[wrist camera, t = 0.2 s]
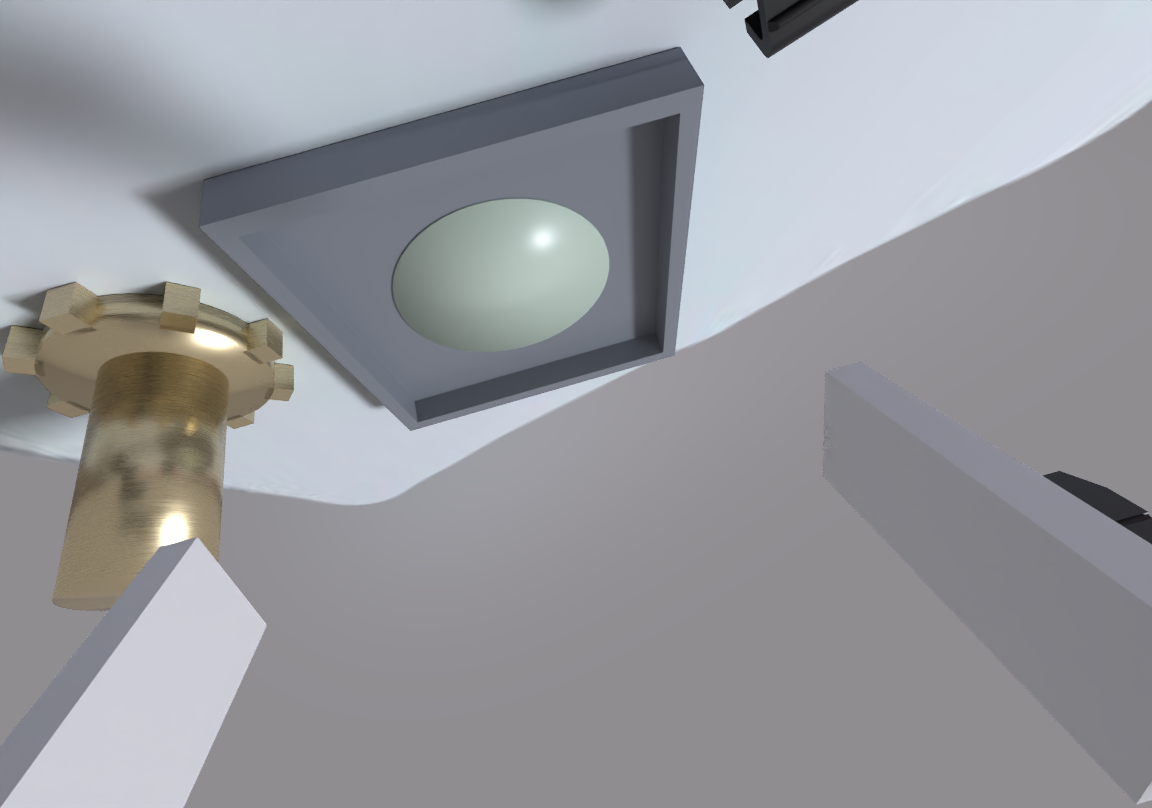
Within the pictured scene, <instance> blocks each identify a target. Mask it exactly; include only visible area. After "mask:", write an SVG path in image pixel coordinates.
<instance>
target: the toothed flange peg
mask: <svg viewBox="0 0 1152 808" xmlns="http://www.w3.org/2000/svg"><path fill="white" fill-rule="evenodd" d="M200 292H201V289H198V288H193V287H188V286H183V285H178V284H173V283H169V282H166V287H165V293H164V296H160V295H149V294H117V295H107V296H99V297H98V296H96V295H95V294H93V293H92V292H90V291H88V290H87V289H85V288H84V287H82V286H81V285H79V284H78V283H76V282H75V283H72V284H68V285H65V286H61V287H58V288H54V289H50V290H47V293H46V297H45V300H44V304H43V308H42V311H41V315H40V318H39V322H41V323H43V324H44V325H45V326H44V329H43V330H39V329H32V328H25V327H19V326H11V329H10V333H9V336H8V339H7V343H6V346H5V349H4V352H3V356H2V357H3V363H4V369H5V372H10V373H20V374H29V375H37V377H38V379H39V380H40V382H41V383H42V384H43V385H44V386H45V387H46V388H47V390H49V391H50V395H49V399H48V403H47V407H46V408H49V409H51V410H54V411H56V412H58V413H61V414H63V415H66V416H68V417H71V418H73V417H76V416H80V415H83V414H87V413H90V414H89V419H88V424H87V429H86V434H85V439H84V444H83V449H82V454H81V459H80V464H79V469H78V474H77V480H76V485H75V490H74V495H73V500H72V505H71V509H70V515H69V519H68V525H67V529H66V534H65V539H64V544H63V549H62V555H61V559H60V565H59V569H58V575H57V579H56V585H55V589H54V594H53V599H52V602H53V603H54V604H55V605H57V606H59V607H63V608H67V609H73V610H87V611H109V610H110V608H111V607H112V606H113V605H114V603H115V602H116V601H117V600H118V598H119V597H120V596H121V595H122V593H123V592H124V591H125V590H126V588H127V587H128V586H129V585H130V583H131V582H132V581H133V580H134V578H135V577H136V576H137V575H138V573H139V572H140V571H141V570H142V568H143V567H144V566H145V565H146V563H147V562H148V561H149V560H150V558H151V557H152V556H153V555H154V553H155V552H156V551H157V550H158V548H159V547H161V546H165V545H168V544H172V543H176V542H180V541H184V540H187V539H191V538H195V537H198V538H199V539H200V541H201V542H202V543H203V544H204V546H205V547H206V548H207V550H208V551H209V552H210V553H211V555H212V556H213V557H214V558H215V560H216V561H217V562H218V561H219V544H220V527H221V512H222V494H223V479H224V463H225V446H226V430H227V425H228V426H230V427H231V428H233V429H236V428H239V427H243V426H246V425H250V424H253V423H254V411H255V410H257V409H259V408H260V407H262V406H263V405H264V404H265V403H266V402H267V401H268V400H269V399H272V400H282V401H289V399H290V397H291V395H292V393H293V391H294V366H291V365H284V364H277V363H275V360H277V359H281V358H282V350H283V332H282V331H281V330H279V329H278V328H277V327H276V326H275V325H274V324H273V323H272V322H270V321H269V320H268V319H265V320H261V321H258V322H254V323H250V324H248V323H246V322H245V321H243V320H241V319H239V318H238V317H236V316H233V315H231V314H229V313H227V312H225V311H222V310H220V309H217V308H214V307H211V306H208V305H205V304H201V303H199V302H200Z"/></svg>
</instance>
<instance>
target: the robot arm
mask: <svg viewBox="0 0 1152 808" xmlns="http://www.w3.org/2000/svg"><path fill="white" fill-rule="evenodd" d="M823 477H824V478H825V479H826V480H827V481H828V482H829V483H830V484H831V485H832V486H833V487H834V488H835V490H837V492H839V494H840V495H841V496H842V497H843V498H844V499H845V500H846V501H847V502H848V503H849V504H850V505H851V506H852V507H853V508H854V509H855V510H856V511H857V512H858V514H859V515H860V516H861V517H862V518H863V519H864V520H865V521H866V522H867V523H868V524H869V525H870V526H871V527H872V528H873V529H874V530H875V531H876V532H877V533H878V535H879V536H880V537H881V538H882V539H883V540H884V541H885V542H886V543H887V544H888V545H889V546H890V547H891V548H892V549H893V550H894V551H895V552H896V553H897V554H898V555H899V557H900V558H901V559H902V560H904V562H905V563H906V564H907V565H908V566H909V567H910V568H911V569H912V570H913V571H914V572H915V573H916V574H917V575H918V576H919V577H920V578H921V580H922V581H923V582H924V583H925V584H926V585H927V586H928V587H929V588H930V589H931V590H932V591H933V592H934V593H935V594H936V595H937V596H938V597H939V598H940V599H941V601H942V602H943V603H945V605H946V606H947V607H948V608H949V609H950V610H951V611H952V612H953V613H954V614H955V615H956V616H957V617H958V618H959V619H960V620H961V621H962V623H964V625H965V626H966V627H967V628H968V629H969V630H970V631H971V632H972V633H973V634H974V635H975V636H976V637H977V638H978V639H979V640H980V641H981V642H982V643H983V645H984V646H985V647H986V648H987V649H988V650H989V651H990V652H991V653H992V654H993V655H994V656H995V657H996V658H997V659H998V660H999V661H1000V662H1001V663H1002V664H1003V665H1004V666H1005V668H1006V669H1007V670H1008V671H1009V672H1010V673H1011V674H1012V675H1013V676H1014V677H1015V678H1016V679H1017V680H1018V681H1019V682H1020V683H1021V684H1022V685H1023V686H1024V687H1025V689H1026V690H1027V691H1028V692H1029V693H1030V694H1031V695H1032V696H1033V697H1034V698H1035V699H1036V700H1037V701H1038V702H1039V703H1040V704H1041V705H1042V706H1043V707H1044V708H1045V709H1046V710H1047V711H1048V713H1049V714H1050V715H1051V716H1052V717H1053V718H1054V719H1055V720H1056V721H1057V722H1058V723H1059V724H1060V725H1061V726H1062V727H1063V728H1064V729H1065V730H1066V731H1067V733H1069V735H1070V736H1071V737H1072V738H1074V740H1075V741H1076V742H1077V743H1078V744H1079V745H1080V746H1081V747H1082V748H1083V749H1084V750H1085V751H1086V752H1087V753H1088V754H1089V756H1090V757H1091V758H1092V759H1093V760H1094V761H1095V762H1096V763H1097V764H1098V765H1099V766H1100V767H1101V768H1102V769H1103V770H1104V771H1105V772H1106V773H1107V774H1108V775H1109V776H1110V778H1111V779H1112V780H1113V781H1114V782H1115V783H1116V784H1117V785H1118V786H1119V787H1120V788H1121V789H1122V790H1123V791H1124V792H1125V793H1126V794H1127V795H1128V796H1129V797H1130V798H1131V799H1132V800H1133V802H1134V803H1135V804H1139V803H1142V802H1146V801H1150V800H1152V517H1150V516H1149V514H1148V511H1146V510H1144V509H1142V508H1141V507H1139V506H1137V505H1136V504H1134V503H1132V502H1130V501H1129V500H1127V499H1125V498H1123V497H1122V496H1120V495H1118V494H1116V493H1115V492H1113V491H1111V490H1110V489H1108V488H1106V487H1103V486H1100V485H1097V484H1095V483H1092V482H1089V481H1086V480H1084V479H1081V478H1078V477H1075V476H1072V475H1069V474H1066V473H1063V472H1061V471H1058V472H1054V473H1051V474H1047V475H1043V476H1042V475H1040V474H1039V473H1037V472H1035V471H1034V470H1032V469H1031V468H1029V467H1028V466H1026V465H1024V464H1023V463H1021V462H1020V461H1018V460H1016V459H1015V458H1013V457H1012V456H1010V455H1009V454H1007V453H1005V452H1004V451H1002V450H1001V449H999V448H997V447H995V446H994V445H993V444H991V443H989V442H988V441H986V440H985V439H983V438H982V437H980V436H978V435H976V434H975V433H974V432H972V431H970V430H969V429H967V428H966V427H964V426H962V425H961V424H959V423H958V422H956V421H954V420H953V419H951V418H949V417H948V416H946V415H945V414H943V413H942V412H940V411H938V410H937V409H935V408H934V407H932V406H931V405H929V404H927V403H926V402H924V401H923V400H921V399H919V398H918V397H916V396H915V395H913V394H911V393H910V392H908V391H907V390H905V389H903V388H902V387H900V386H899V385H897V384H895V383H894V382H892V381H891V380H889V379H888V378H886V377H884V376H883V375H881V374H880V373H878V372H876V371H875V370H873V369H872V368H870V367H868V366H867V365H865V364H863V363H862V362H858V363H855V364H851V365H847V366H843V367H840V368H836V369H832V370H829V371H825V405H824V443H823ZM266 626H267V625H266V623H265V622H264V621H263V620H262V618H261V617H260V616H259V615H258V613H257V612H256V611H255V609H254V608H253V607H252V606H251V604H250V603H249V602H248V600H247V599H246V598H245V597H244V595H243V594H242V593H241V592H240V590H239V589H238V588H237V587H236V585H235V584H234V583H233V582H232V580H231V579H230V578H229V576H228V575H227V574H226V572H225V571H224V570H223V569H222V567H221V566H220V565H219V564H218V562H217V561H216V560H215V558H214V557H213V556H212V555H211V553H210V552H209V551H208V550H207V548H206V547H205V546H204V544H203V543H202V542H201V541H200V539H199V538H198V537H195V538H191V539H187V540H184V541H180V542H176V543H172V544H168V545H165V546H161V547H159V548H158V550H157V551H156V552H155V553H154V555H153V556H152V557H151V558H150V560H149V561H148V562H147V563H146V565H145V566H144V567H143V568H142V570H141V571H140V572H139V573H138V575H137V576H136V577H135V578H134V580H133V581H132V582H131V583H130V585H129V586H128V587H127V588H126V590H125V591H124V592H123V593H122V595H121V596H120V597H119V598H118V600H117V601H116V602H115V603H114V605H113V606H112V607H111V608H110V610H109V611H108V612H107V613H106V615H105V616H104V617H103V618H102V620H101V621H100V622H99V623H98V625H97V626H96V627H95V628H94V630H93V631H92V632H91V633H90V634H89V636H88V637H87V638H86V640H85V641H84V642H83V643H82V644H81V646H80V647H79V648H78V650H77V651H76V652H75V653H74V655H73V656H72V657H71V658H70V660H69V661H68V662H67V663H66V665H65V666H64V667H63V668H62V669H61V671H60V672H59V673H58V675H57V676H56V677H55V678H54V680H53V681H52V682H51V683H50V685H49V686H48V687H47V688H46V689H45V691H44V692H43V693H42V695H41V696H40V697H39V698H38V699H37V701H36V702H35V703H34V704H33V706H32V707H31V708H30V709H29V711H28V712H27V713H26V714H25V716H24V717H23V718H22V719H21V721H20V722H19V723H18V724H17V726H16V727H15V728H14V729H13V731H12V732H11V733H10V734H9V736H8V737H7V738H6V739H5V741H4V742H3V743H2V744H1V746H0V808H183V807H184V805H185V803H186V801H187V798H188V796H189V794H190V792H191V790H192V788H193V785H194V783H195V781H196V778H197V777H198V774H199V772H200V770H201V768H202V766H203V763H204V761H205V759H206V757H207V755H208V753H209V750H210V748H211V746H212V744H213V741H214V739H215V737H216V735H217V733H218V731H219V728H220V726H221V724H222V722H223V720H224V718H225V715H226V713H227V711H228V709H229V707H230V704H231V702H232V700H233V698H234V696H235V693H236V691H237V689H238V687H239V685H240V683H241V680H242V678H243V676H244V674H245V672H246V670H247V667H248V665H249V663H250V661H251V658H252V656H253V654H254V652H255V650H256V648H257V646H258V643H259V641H260V639H261V637H262V634H263V632H264V630H265V628H266Z"/></svg>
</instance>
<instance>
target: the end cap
mask: <svg viewBox="0 0 1152 808" xmlns="http://www.w3.org/2000/svg"><path fill="white" fill-rule="evenodd" d="M723 1H724V2H725V3H726V5H727V6H728V7H729V9H730V8H732V7H733V6H735V5H736V4H738V3H739V2H741V1H742V0H723ZM857 1H858V0H757V3H758V9H759V10H757V11H756V12H754V13H753V14H751V15H750V16H748V17H747V18H745V24H746V29H747V33H748V34H749V35H750V37H751V38H752V39H753V41H754V42H755V43H756V45H757V46H758V47H759V49H760V50H761V51H762V53H763V54H764V55H765V56H766V57H767V58H769V57H771V56H772V55H774V54H775V53H777V52H779V51H780V50H782V49H783V48H785V47H786V46H788V45H789V44H791V43H793V42H794V41H796V40H797V39H799V38H800V37H802V36H804V35H805V34H807V33H808V32H810V31H811V30H813V29H814V28H816V27H818V26H819V25H821V24H822V23H824V22H825V21H827V20H829V19H830V18H832V17H833V16H835V15H836V14H838V13H839V12H841V11H843V10H844V9H846V8H847V7H849V6H850V5H852V4H854V3H855V2H857Z"/></svg>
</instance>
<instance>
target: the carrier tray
mask: <svg viewBox="0 0 1152 808" xmlns="http://www.w3.org/2000/svg"><path fill="white" fill-rule="evenodd" d="M703 91H704V84H703V82H702V81H701V79H700V78H699V76H698V74H697V73H696V71H695V70H694V68H693V66H692V65H691V63H690V62H689V60H688V58H687V57H686V55H685V54H684V52H683V50H682V49H681V47H679V48H675V49H672V50H668V51H664V52H661V53H657V54H654V55H650V56H647V57H643V58H639V59H636V60H632V61H629V62H625V63H621V64H618V65H614V66H611V67H607V68H604V69H600V70H596V71H593V72H589V73H586V74H582V75H579V76H575V77H571V78H568V79H564V80H561V81H557V82H554V83H550V84H546V85H543V86H539V87H536V88H532V89H529V90H525V91H521V92H518V93H514V94H511V95H507V96H503V97H500V98H496V99H493V100H489V101H486V102H482V103H478V104H475V105H471V106H468V107H464V108H461V109H457V110H453V111H450V112H446V113H443V114H439V115H436V116H432V117H428V118H425V119H421V120H418V121H414V122H410V123H407V124H403V125H400V126H396V127H393V128H389V129H385V130H382V131H378V132H375V133H371V134H368V135H364V136H360V137H357V138H353V139H350V140H346V141H343V142H339V143H335V144H332V145H328V146H325V147H321V148H318V149H314V150H310V151H307V152H303V153H300V154H296V155H292V156H289V157H285V158H282V159H278V160H275V161H271V162H267V163H264V164H260V165H257V166H253V167H250V168H246V169H242V170H239V171H235V172H232V173H228V174H225V175H221V176H217V177H214V178H210V179H207V180H204V183H203V192H202V201H201V210H200V219H199V228H200V229H201V230H202V231H203V232H204V233H205V234H207V235H208V236H209V237H210V238H211V239H212V240H213V241H214V242H215V243H216V244H217V245H218V246H219V247H220V248H221V249H222V250H223V251H224V252H225V253H226V254H227V255H228V256H229V257H230V258H231V259H233V260H234V261H235V262H236V263H237V264H238V265H239V266H240V267H241V268H242V269H243V270H244V271H245V272H246V273H247V274H248V275H249V276H250V277H251V278H252V279H253V280H254V281H255V282H256V283H257V284H258V285H260V286H261V287H262V288H263V289H264V290H265V291H266V292H267V293H268V294H269V295H270V296H271V297H272V298H273V299H274V300H275V301H276V302H277V303H278V304H279V305H280V306H281V307H282V308H283V309H284V310H286V311H287V312H288V313H289V314H290V315H291V316H292V317H293V318H294V319H295V320H296V321H297V322H298V323H299V324H300V325H301V326H302V327H303V328H304V329H305V330H306V331H307V332H308V333H309V334H310V335H311V336H313V337H314V338H315V339H316V340H317V341H318V342H319V343H320V344H321V345H322V346H323V347H324V348H325V349H326V350H327V351H328V352H329V353H330V354H331V355H332V356H333V357H334V358H335V359H336V360H337V361H338V362H340V363H341V364H342V365H343V366H344V367H345V368H346V369H347V370H348V371H349V372H350V373H351V374H352V375H353V376H354V377H355V378H356V379H357V380H358V381H359V382H360V383H361V384H362V385H363V386H364V387H366V388H367V389H368V390H369V391H370V392H371V393H372V394H373V395H374V396H375V397H376V398H377V399H378V400H379V401H380V402H381V403H382V404H383V405H384V406H385V407H386V408H387V409H388V410H389V411H390V412H391V413H393V414H394V415H395V416H396V417H397V418H398V419H399V420H400V421H401V422H402V423H403V424H404V425H405V426H406V427H407V428H408V429H409V430H410V431H412V430H415V429H419V428H422V427H426V426H429V425H433V424H436V423H440V422H443V421H447V420H450V419H454V418H457V417H461V416H464V415H468V414H471V413H475V412H478V411H482V410H485V409H489V408H492V407H496V406H499V405H503V404H506V403H510V402H513V401H517V400H520V399H524V398H527V397H531V396H534V395H538V394H541V393H545V392H548V391H552V390H555V389H559V388H562V387H566V386H569V385H573V384H576V383H580V382H583V381H587V380H590V379H594V378H597V377H601V376H604V375H608V374H611V373H615V372H618V371H622V370H625V369H629V368H632V367H636V366H639V365H643V364H646V363H650V362H653V361H657V360H660V359H664V358H667V357H671V356H674V355H675V347H676V337H677V328H678V319H679V310H680V301H681V292H682V283H683V273H684V264H685V255H686V246H687V237H688V228H689V219H690V209H691V200H692V191H693V182H694V173H695V164H696V155H697V146H698V136H699V127H700V118H701V109H702V100H703Z"/></svg>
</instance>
